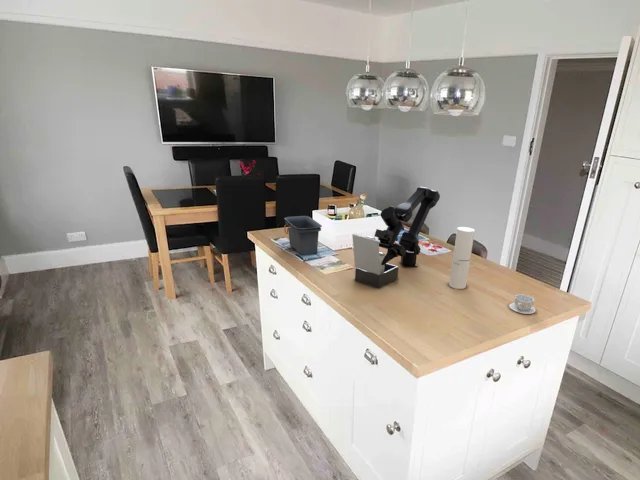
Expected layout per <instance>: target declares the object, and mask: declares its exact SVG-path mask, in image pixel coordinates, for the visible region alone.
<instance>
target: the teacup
mask: <svg viewBox="0 0 640 480" xmlns="http://www.w3.org/2000/svg"><path fill="white" fill-rule="evenodd" d="M534 304H535V298H534V297H533V296H531V295H528V294H522V293H521V294H520V293H518V294H515V295H514V301H513V302H511V303H510V304H509V305H508V306H509V308H510V309H511V310H512V311H514V312H517V313H520V314H525V315H529V314H530V315H531V314H534V313H536V311H537V310H536V308H535V307H534Z"/></svg>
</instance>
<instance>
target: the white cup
mask: <svg viewBox="0 0 640 480" xmlns="http://www.w3.org/2000/svg"><path fill="white" fill-rule="evenodd" d="M385 256H386V254H385V253H383V252H380V251H379V258H380V274H382V273H384V270H385V264H384V265H381V263H382V261H383V259H384V257H385Z"/></svg>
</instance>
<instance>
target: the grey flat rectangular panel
mask: <svg viewBox="0 0 640 480" xmlns="http://www.w3.org/2000/svg"><path fill="white" fill-rule="evenodd" d="M375 239H376V238H375ZM375 239H371V238H367V236H363V235H359V234H355V233H353V234H352V248H353V260H354V261H353V262H354V268H359V269H362V270H365V271H369V272H372V273H375V274H378V275H380V258H379V252H380V247H379V242H380V241H379V240H378V239H376V240H375Z"/></svg>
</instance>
